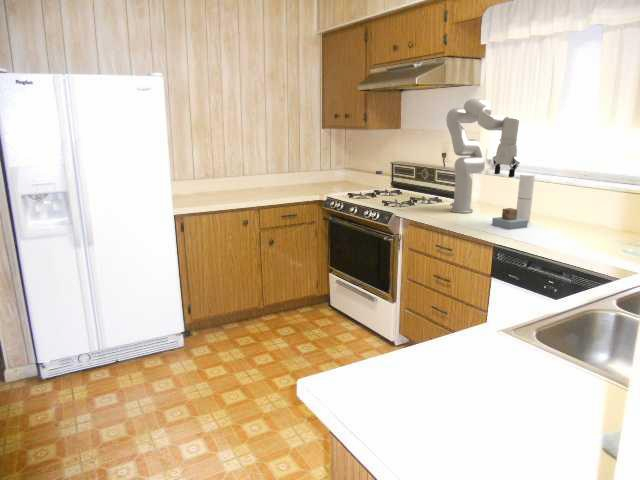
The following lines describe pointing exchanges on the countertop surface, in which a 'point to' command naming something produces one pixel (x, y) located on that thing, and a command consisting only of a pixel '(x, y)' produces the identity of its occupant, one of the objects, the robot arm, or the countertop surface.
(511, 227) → the grey base block
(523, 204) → the cylindrical container
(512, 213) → the walnut cube
